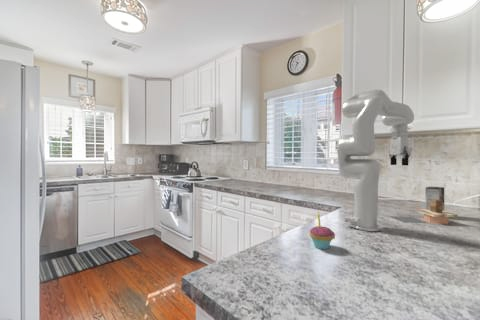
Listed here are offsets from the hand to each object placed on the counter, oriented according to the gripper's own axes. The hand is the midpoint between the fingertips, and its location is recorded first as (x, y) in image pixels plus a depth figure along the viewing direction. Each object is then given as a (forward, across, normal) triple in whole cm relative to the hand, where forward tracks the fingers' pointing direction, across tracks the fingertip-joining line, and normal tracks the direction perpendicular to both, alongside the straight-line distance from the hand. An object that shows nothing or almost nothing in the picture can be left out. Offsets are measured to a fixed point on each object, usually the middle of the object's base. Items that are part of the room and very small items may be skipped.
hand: (399, 165), depth 130 cm
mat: (+28, +13, -4) cm, 31 cm away
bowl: (+28, +16, +8) cm, 33 cm away
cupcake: (+28, +51, -61) cm, 84 cm away
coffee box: (+28, +3, +18) cm, 34 cm away
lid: (+24, +16, +8) cm, 30 cm away
